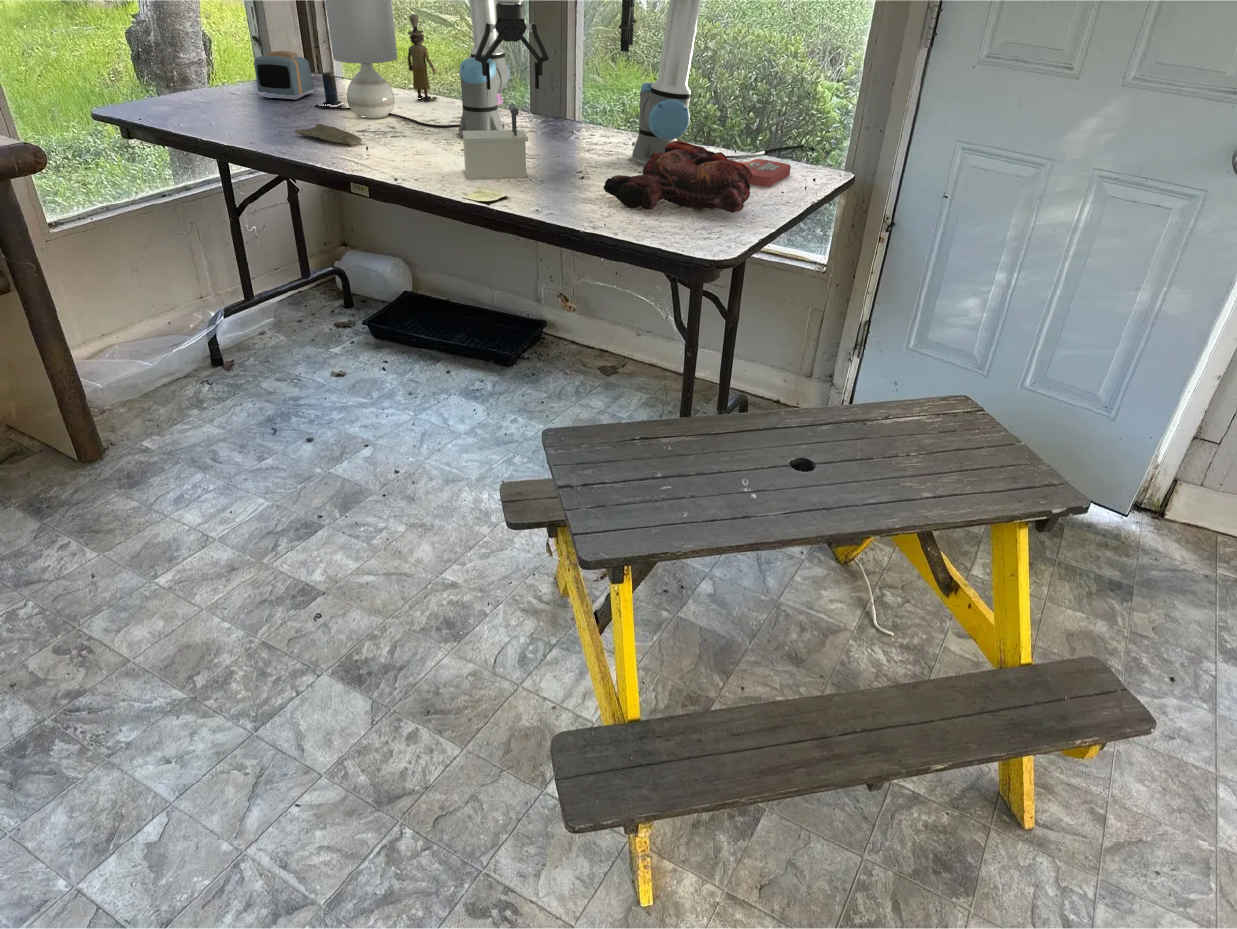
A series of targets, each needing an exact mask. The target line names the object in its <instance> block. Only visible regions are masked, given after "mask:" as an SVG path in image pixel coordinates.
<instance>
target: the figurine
mask: <svg viewBox="0 0 1237 929" xmlns="http://www.w3.org/2000/svg"><path fill="white" fill-rule="evenodd" d="M408 18H409V21H410V24H411V26H412V30H411V31H408V32H407V34H408V35H409V39H410V42H411V44H412V45H410V46H409V47H408V50H407V51H408V53H407V65H408V71H409V72H412V76H413V78H412V87H413V90H416V93H417V99H416V101H417V102H421V101H423V102H430V101H434V100H436V99H437V97H436V96H429V95H428V94H429V93H428V90H430V87H431V85H430V81H429V76H428V75H429V74H428V66H427V65H429V68H431V71H432V74H433V76H434V77H435V75H436V72H437V71H436V70H437V69H436V68H435V66H434V64H433V63H432V61H431V59H430V57H429V52H428V48H427V47H426V46H425V45H423V44H424V42H425V35H424V31H423V30H420V29H418V25H419V20H420V18H419V15H418V14H416V13H411V14H410V15H409V16H408ZM422 91H423V93H424V95H422ZM423 96H425V97H423ZM422 97H423V98H422ZM431 97H432V98H431ZM418 98H421V99H418Z"/></svg>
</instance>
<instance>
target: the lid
mask: <svg viewBox="0 0 1237 929" xmlns="http://www.w3.org/2000/svg"><path fill="white" fill-rule="evenodd" d="M508 110H509V113H510V114H511V129H504V130H484V131H463V137H464V140H465V143H469V142H517V141H525V142H529V137H528V135H527V133H526V131H525V129H517V116H519V113H520V112H519V111H520V110H519V109H518V108H517V105H516V104H514V103H511V104H509V106H508Z"/></svg>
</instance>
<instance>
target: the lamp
mask: <svg viewBox="0 0 1237 929" xmlns="http://www.w3.org/2000/svg"><path fill="white" fill-rule="evenodd" d="M324 3H325V9H326V18H327V23H328V30H329V37H330V45H331V51H332V58H333V60H334V61H336V62H341V63H348V64H360V70H358V71H357V72H356V74H354V76H353V77H352V79H351V80H350V82H349V84H348V87H347V92H346V101H347V104H348V107H349V108H350V109H351V110H350V111H351V112H352V113H354V115H356V116H358V117H360V118H362V119H368V120H369V119H370V120H371V119H372V120H375V119H382V118H385V117H387V116H389V115H388V114H389V113H392V111H393V110H394V107H395V103H396V102H395V95H394V91H393V89H392V87H391V85H390V83H389V82H388V81H387V80H386V79H385V78H384V77H383V75H381V74H380V73H379V72H378V71H376V70H375V68H374V67H373V64H382V63H390V62H393V61H396V60H397V59H398V50H397V40H396V31H395V21H394V13H393V2H392V0H324ZM361 116H365V117H361Z"/></svg>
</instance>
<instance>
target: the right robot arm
mask: <svg viewBox="0 0 1237 929" xmlns="http://www.w3.org/2000/svg"><path fill="white" fill-rule="evenodd" d="M524 1H525V0H496V24H489V23H488V22H486V23H485V32H484V34H483V37H482V39H481V42H480V44H479V47H478V49H477V52H476V54H475V60H476V61H479V62H481V63H482V74H483V76H486V79H487V89H488V90H490V69H489V63H488V62H487V61H488V59H489V58H490V57H491V55H492V54H493V52H494V51H495V50H496V48H497V47H498V46H499V44H500V45H501V43H502V42H503V41H504V42H505V43H510V42H513V43H517V42H519V41H521V43H522V44H523V45H524V46H525V47H526V48H527V50H528V51H529V52H530V53H531V55H532V56H533V58H534V59H535V60H536V61H534V88H535V89H536V90H540V76H543V74H544V73H543V63H545V62H548V61H550V60H549V59H550V57H549V55H548V53H547V51H546V48H545V47H544V44H543V42H542V40H541V38H540V36H539V34H538V28H537V24H536V23H535V22H531V23H526V22H525V5H524V4H523V2H524ZM668 1H669V2H668V9H667V14H666V19H665V20H666V21H665V28H664V34H663V41H662V47H661V54H660V59H659V67H658V73H657V79H656V81H654V82H644V83H642V84H641V85H640V91H639V96H640V97H639V120H638V135H637V138H636V140H635V141H633V142H632V143H631V147H633V150H632V154H631V161H632V162H633V163H634V164H635V165H638V166H643V167H645V165H646V163H647V162H648V160H650V159H651V158H650V157H651V155H652V154H653V153H657V152H658V153H660V152H664V153H665V147H666V146H667V145H668V144H669V143H671V142H673V141H677V140H678V139H679V138H680V137H682V136H683V135H684V134H685V132H687V130H688V127H689V125H690V122H691V119H690V118H691V117H690V116H691V114H690V110H689V106H690V100H691V94H692V91H691V89H690V87H689V85H688V80H689V76H690V75H689V74H690V69H691V63H692V58H693V50H694V47H695V46H694V45H695V38H696V34H697V28H698V23H699V17H700V16H699V15H700V10H701V5H702V4H701V3H702V0H668ZM493 29H496V31H497V32H498V33H499V34H498V36H497V37H496V39H495V40H494V42H493V43H492V45H491V46H490V47H489V49H488V50H487V52H486V53H485V54H484V56H483V57H481V55H482V52H483V50H484V47H485V45H486V42H487V40H488V37H489V34H490V33H491V32H492V31H493ZM527 30H528V31H529V33H531V34H532V36H533V39H534V41H535V43H536V45H537V47H538V49H539V51H540V53H541V56H540V55H539V54H538V53H537V51H536V50H535V48H534V47H533V46H532V45H531V44H530V42H529V41H528V40H527V38H526V36H524V34H525V33H526V31H527ZM803 145H804V144H800V145H799V144H798V145H793V146H782V147H776V148H771V149H766V150H763V151H758V152H754V153H749V154H741V155H739V154H738V155H725V156H726V158H727V159H741V158H742V159H743V158H750V157H754V156H759V155H765V154H768V153H772V152H777V151H782V150H794V149H800V148H805V147H804V146H803ZM809 149H810V150H811V151H812V152H816V149H815V148H814V147H812V148H809Z"/></svg>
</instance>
